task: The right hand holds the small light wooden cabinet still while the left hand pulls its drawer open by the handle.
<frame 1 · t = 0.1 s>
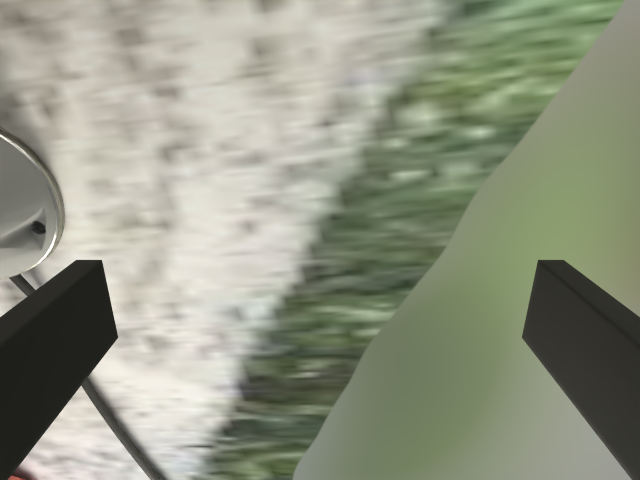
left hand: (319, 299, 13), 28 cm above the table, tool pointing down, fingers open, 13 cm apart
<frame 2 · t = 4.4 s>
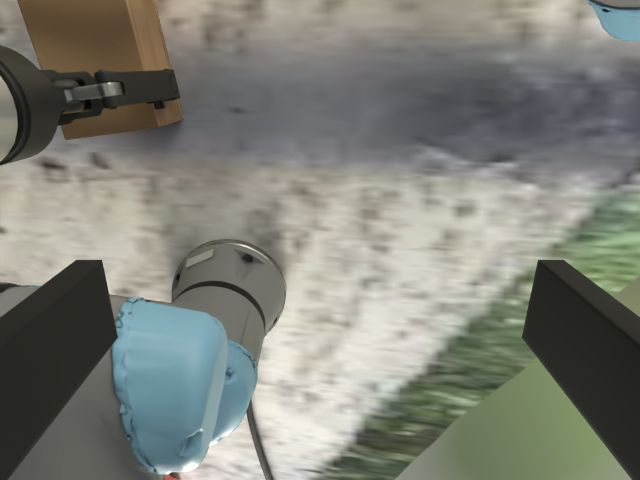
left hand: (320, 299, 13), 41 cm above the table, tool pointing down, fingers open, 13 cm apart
cabinet: (118, 31, 46), on the table, touching right hand
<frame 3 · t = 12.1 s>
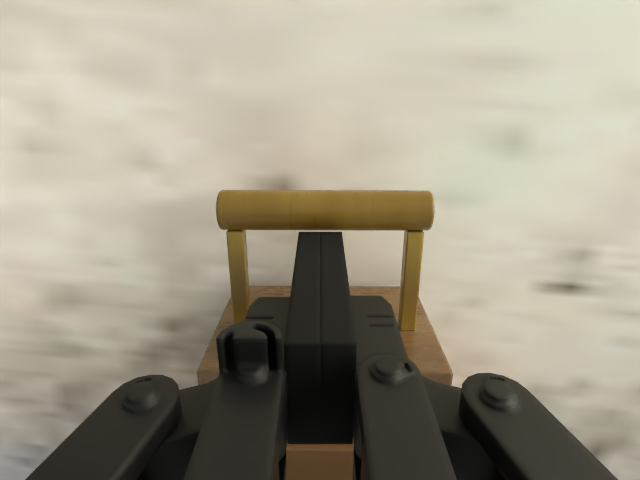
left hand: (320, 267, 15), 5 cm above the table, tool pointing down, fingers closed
drawer: (323, 451, 19), point 4 cm above the table, slide at 1.2 cm, touching left hand
cabinet: (323, 467, 25), on the table, touching right hand
when the right hand's fingers open (3 cm above the table, at t = 16.1 s): cabinet stays where it is, on the table.
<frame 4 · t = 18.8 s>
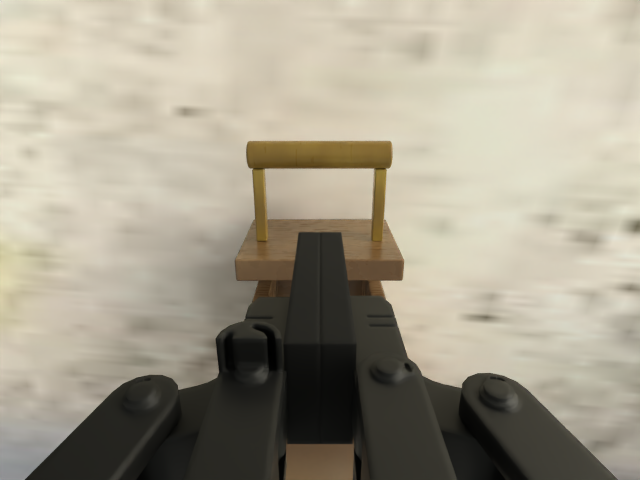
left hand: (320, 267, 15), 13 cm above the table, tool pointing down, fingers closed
drawer: (319, 337, 27), point 4 cm above the table, slide at 8.8 cm
cabinet: (319, 441, 35), on the table
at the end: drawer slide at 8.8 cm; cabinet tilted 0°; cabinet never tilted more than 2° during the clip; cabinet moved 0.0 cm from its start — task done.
